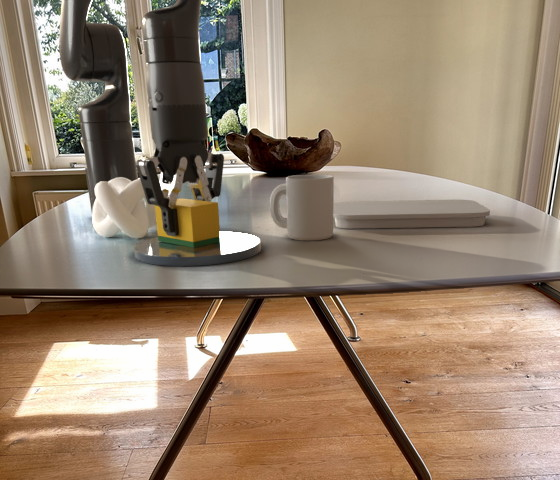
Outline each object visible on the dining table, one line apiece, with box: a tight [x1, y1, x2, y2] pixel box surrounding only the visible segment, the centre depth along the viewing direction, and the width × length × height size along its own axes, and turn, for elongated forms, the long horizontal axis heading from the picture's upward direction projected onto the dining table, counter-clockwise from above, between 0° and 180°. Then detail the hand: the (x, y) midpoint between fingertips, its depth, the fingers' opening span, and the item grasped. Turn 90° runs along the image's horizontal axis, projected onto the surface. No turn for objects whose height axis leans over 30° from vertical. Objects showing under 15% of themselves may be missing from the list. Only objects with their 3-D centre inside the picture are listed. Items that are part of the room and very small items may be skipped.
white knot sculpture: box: [91, 177, 157, 239], centre depth 96 cm, size 11×12×9 cm
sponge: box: [155, 198, 221, 248], centre depth 85 cm, size 8×5×6 cm, turn 48°
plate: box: [133, 231, 262, 267], centre depth 85 cm, size 18×18×1 cm
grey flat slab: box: [333, 199, 491, 230], centre depth 104 cm, size 16×26×2 cm, turn 86°
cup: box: [269, 174, 335, 241], centre depth 92 cm, size 7×10×9 cm
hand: (188, 231), depth 86 cm, fingers closed on sponge, 5 cm apart
